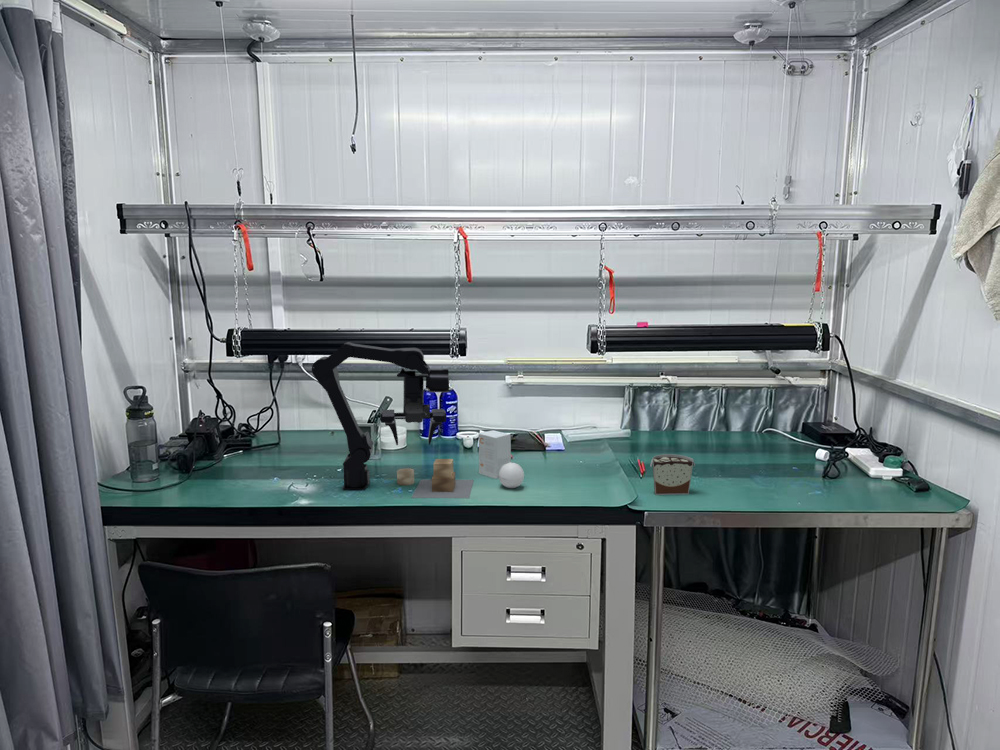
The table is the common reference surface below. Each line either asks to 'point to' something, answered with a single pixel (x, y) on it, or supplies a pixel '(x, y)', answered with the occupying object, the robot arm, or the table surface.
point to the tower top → (443, 468)
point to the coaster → (460, 491)
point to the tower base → (443, 484)
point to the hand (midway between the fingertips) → (413, 444)
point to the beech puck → (405, 476)
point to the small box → (493, 452)
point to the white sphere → (511, 475)
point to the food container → (672, 474)
